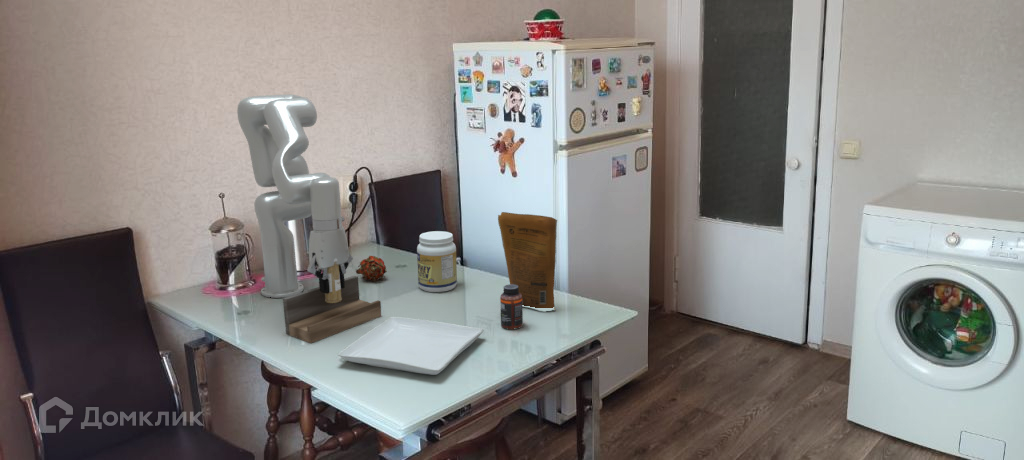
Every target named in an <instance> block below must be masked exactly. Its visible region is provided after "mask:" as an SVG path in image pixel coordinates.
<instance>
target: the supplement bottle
mask: <svg viewBox="0 0 1024 460" xmlns="http://www.w3.org/2000/svg"><path fill="white" fill-rule="evenodd" d="M518 291H519V290H518V286H517V285H514V284H510V283H508V284H505V285H504V286H503V292H502V293H501V294H500V297H499V301H500V304H499V305H500V326H501V327H502V328H503V329H505V328H508V329H507V330H515V329H514V328H518V329H520V328H522V326H523V324H524V321H523V320H524V319H523V318H524V317H523V315H524V314H523V307H522V295H521V294H520V293H519V292H518ZM519 327H520V328H519Z"/></svg>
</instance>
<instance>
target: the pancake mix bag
mask: <svg viewBox="0 0 1024 460" xmlns="http://www.w3.org/2000/svg"><path fill="white" fill-rule="evenodd" d="M497 221H498V223H497V224H498V226H499V232H500V234H501V235H500V236H501V244H502V248H503V251H504V258H505V263H506V268H507V276H508V280H509V281H508V282H509V284H514V285H517V286H518V290H519V291H518V292H519V293H520V294H521V295H522V305H524V306H530V307H535V308H553V307H555V294H554V293H555V292H554V290H555V272H556V264H557V263H556V261H557V260H556V258H557V256H556V253H557V229H558V228H557V227H558V226H557V225H558V224H557V223H558V219H556V218H554V217H551V216H546V215H539V214H538V215H537V214H529V213H527V214H526V213H525V214H524V213H523V214H522V213H513V212H507V211H501V214H497ZM555 308H556V307H555Z"/></svg>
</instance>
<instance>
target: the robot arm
mask: <svg viewBox="0 0 1024 460" xmlns="http://www.w3.org/2000/svg"><path fill="white" fill-rule="evenodd" d="M236 111H237V119H238V123H239V125H240V128H241V130H242V133H243V135H244V136H245V140H246V141H247V144H248V149H249V155H250V161H251V167H252V172H253V177H254V179H255V182H256V184H257V185H258V186H259V187H261V188H273V187H276V189H277V190H273V191H267V192H264V193H261V194H260V195H258V196H257V197H256V198H255V201H254V212H255V217H256V219H257V223H258V227H259V232H260V240H261V241H260V242H261V250H262V259H263V260H262V261H263V262H262V263H263V270H264V271H263V272H264V276H262V277H261V279H260V280H261V282H264V286H263V287H262V288H261V290H260V293H261V295H262V296H263V297H265V298H270V297H271V298H272V299H274V298H275V299H278V298H281V299H283V298H285V297H288V296H292V295H295V294H298V293H301V292H304V285H303V284H302V283H300V282H299V281H298V280H299V279H298V271H297V259H296V247H295V246H296V245H295V236H294V234H293V232H292V231H291V229H289V228H288V227H287V226H286V225H285V223H286V222H290V221H298V220H302V219H303V220H304V219H306V218H310V217H311V219H312V230H310V232H309V239H308V259H309V260H308V261H309V265H308V267H307V270H306V271H307V272H308V273H311V274H312V275H314V276H315V277H316V278H317V279H318V285H319V286H318V287H320V291H321V292H323V293H326V294H328V293H329V292H330V291H329V280H328V279H326V278H327V269H328V268H329V267H331V266H333V265H334V264H335V262H337V263H336V264H338V265H339V272H340V284H341V288H342V289H343V288H345V284H344V283H345V281H344V279H345V274H346V272H347V271H346V270H347V268H348V267H349V264H351V262H352V261H353V259H354V258H353V256H352V255H351V254H350V253H349V243H348V239H347V234H346V230H345V227H344V226H343V222H344V221H345V217H344V216H342V205H341V192H340V191H341V190H340V183H339V181H338V179H337V178H335V177H332V176H330V175H329V174H327V173H326V172H314V173H310V171H309V167H308V163H307V161H306V159H305V157H304V156H303V153H305V152H306V151H307V149H308V148H309V145H310V141H309V138H308V136H307V134H306V132H305V130H304V128H310V127H313V126H315V124H316V122H317V119H318V113H317V108H316V107H315V105H314V103H313V102H312V101H311V100H310V99H309V98H307V97H305V96H300V95H296V94H275V95H274V94H273V95H272V94H271V95H268V94H267V95H256V96H254V95H253V96H249V97H245V98H243V99H242V100H241V99H240V101H239V103H238V105H237V110H236ZM266 125H267V126H266ZM335 258H336V259H337V261H335V262H333V261H334V259H335Z"/></svg>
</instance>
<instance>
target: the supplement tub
mask: <svg viewBox="0 0 1024 460" xmlns="http://www.w3.org/2000/svg"><path fill="white" fill-rule="evenodd" d="M418 241H419V244H417V247H416V257H417V259H416V260H417V281H418V282H417V283H418V287H419V288H420V290H423V291H425V292H428V293H429V292H430V293H443V292H444V293H445V292H448V291H451V290H454V289H455V287H456V286H457V284H458V279H457V278H458V275H457V274H458V272H457V270H458V269H457V247H456V244H455V243H454V242H453V241H454V235H453V233H451V232H449V231H441V230H435V231H427V232H422V233H421V234H420V235H419V239H418Z"/></svg>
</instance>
